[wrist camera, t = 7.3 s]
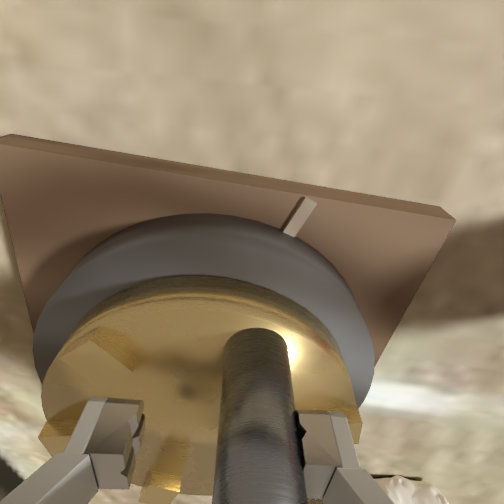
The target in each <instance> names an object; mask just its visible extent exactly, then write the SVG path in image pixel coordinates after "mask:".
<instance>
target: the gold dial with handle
mask: <svg viewBox="0 0 504 504" xmlns="http://www.w3.org/2000/svg"><path fill="white" fill-rule="evenodd" d="M92 396H93V397H110V398H121V399H135V400H143V402H144V409H143V412H142V413H143V414H144V415H145V431H144V436H143V441H142V444H141V448H140V449H139V450H138V451H137V452H136V453H135V461H136V466H135V469H134V473H133V476H132V480H131V483H132V484H135V485H138V486H142V489H141V493H140V497H139V501H138V502H142V503H147V504H170V503H171V502H172V501H173V499H174V498H175V497H176V496H177V494H178V493H179V494H187V495H213V498H212V504H308V502H307V494H306V487H305V479H304V473H303V467H302V459H301V451H300V440H299V433H298V427H297V419H296V410H297V409H299V410H322V411H334V412H343V413H344V414H345V415H346V417H347V421H348V425H349V428H350V432H351V435H352V439H353V443H354V444H358V443H359V438H360V433H361V428H362V421H361V417H360V414H359V411H358V408H356V400H355V394H354V391H353V388H352V384H351V381H350V378H349V375H348V371H347V368H346V365H345V361H344V358H343V355H342V353H341V350H340V348H339V345H338V343H337V341H336V340H335V338H334V337H333V335H332V333H331V332H330V331H329V330H328V328H327V327H326V326H325V325H324V324H323V323H322V322H321V320H320V319H318V318H317V317H316V316H315V315H314V314H312V313H311V312H310V311H309V310H308V309H306V308H305V307H303V306H301V305H300V304H298V303H297V302H295V301H293V300H292V299H290V298H288V297H286V296H284V295H282V294H279V293H277V292H275V291H273V290H270V289H267V288H264V287H261V286H258V285H255V284H252V283H248V282H243V281H238V280H234V279H228V278H219V277H209V276H182V277H173V278H164V279H158V280H154V281H149V282H145V283H141V284H138V285H135V286H132V287H129V288H127V289H124V290H121V291H119V292H117V293H115V294H113V295H111V296H109V297H108V298H106V299H104V300H102V301H101V302H100V303H98V304H97V305H96V306H94V307H93V308H91V309H90V310H89V311H88V312H87V313H86V314H85V315H84V316H83V317H82V318H81V319H80V320H79V322H78V323H77V325H76V326H75V328H74V329H73V331H72V332H71V334H70V335H69V337H68V339H67V340H66V342H65V343H64V345H63V347H62V348H61V350H60V351H59V353H58V354H57V356H56V358H55V359H54V361H53V362H52V364H51V366H50V367H49V369H48V371H47V373H46V376H45V379H44V381H43V386H42V394H41V398H42V407H43V411H44V414H45V417H46V420H47V422H46V423H45V425H44V427H43V429H42V431H41V432H40V434H39V436H38V438H39V440H40V441H41V442H42V444H43V445H44V447H45V448H46V449H47V451H48V452H49V453H50V455H51V456H52V457H53V456H54V455H55V454H57V453H63V452H64V449H65V447H66V445H67V443H68V441H69V439H70V437H71V435H72V433H73V431H74V429H75V427H76V424H77V422H78V420H79V418H80V416H81V414H82V412H83V410H84V408H85V406H86V404H87V402H88V401H89V399H90V398H91V397H92Z"/></svg>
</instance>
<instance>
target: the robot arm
mask: <svg viewBox="0 0 504 504" xmlns="http://www.w3.org/2000/svg"><path fill="white" fill-rule="evenodd" d="M143 409H144V402H143V400H135V399H121V398H110V397H93V396H92V397H91V398H90V399H89V401H88V402H87V404H86V406H85V408H84V410H83V412H82V414H81V416H80V418H79V420H78V422H77V424H76V427H75V429H74V431H73V433H72V435H71V437H70V439H69V441H68V443H67V445H66V447H65V449H64V452H63V453H57V454H55V455H54V456H53V457H52V458H51V459H49V460H48V461H47V462H46V463H45V464H44V465H42V466H41V467H40V468H39V469H38V470H37V471H35V472H34V473H33V474H32V475H31V476H30V477H28V478H27V479H26V480H25V481H24V482H23V483H21V484H20V485H19V486H18V487H17V488H16V489H15V490H13V491H12V492H11V493H10V494H9V495H7V496H6V497H5V498H4V499H3V500H1V501H0V504H88V502H89V501H90V500H91V499H92V498H93V497H94V495H95V494H96V493H97V492H98V489H129V487H130V483H131V480H132V476H133V473H134V469H135V466H136V461H135V453H136V452H137V451H138V450H139V449H140V448H141V444H142V441H143V436H144V431H145V415H144V414H143V413H142V412H143ZM296 419H297V427H298V433H299V440H300V451H301V459H302V467H303V473H304V479H305V487H306V494H307V498H311V499H323V500H322V502H323V504H394V503H393V501H392V500H391V499H390V498H389V497H388V495H387V494H386V493H385V492H384V491H383V489H382V488H381V487H380V486H379V485H378V483H377V482H376V481H375V480H374V479H373V477H372V476H371V475H370V474H369V473H368V471H367V470H366V469H361V468H360V465H359V461H358V457H357V454H356V450H355V446H354V443H353V439H352V435H351V432H350V428H349V425H348V421H347V417H346V415H345V414H344V413H343V412H334V411H322V410H299V409H297V410H296Z"/></svg>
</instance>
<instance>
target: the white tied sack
mask: <svg viewBox="0 0 504 504" xmlns="http://www.w3.org/2000/svg"><path fill="white" fill-rule="evenodd" d="M374 480H375V481H376V482H377V483H378V485H379V486H380V487H381V488H382V489H383V491H384V492H385V493H386V494H387V495H388V497H389V498H390V499H391V500H392V501H393V503H394V504H449V503H448V501H447V500H446V498H445V497H444V496H443V495H442V494H441V492H440V491H439V490H438V489H437V488H436V487H435V486H433V485H432V484H430V483H427V482H422V481H415V480H409V479H407V478H404V477H402V476H400V475H395V476H393V477H391V478H379V479H374Z"/></svg>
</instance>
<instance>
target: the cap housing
mask: <svg viewBox="0 0 504 504" xmlns="http://www.w3.org/2000/svg"><path fill="white" fill-rule="evenodd" d="M0 194H1V198H2V202H3V206H4V211H5V215H6V219H7V223H8V227H9V232H10V236H11V240H12V244H13V248H14V253H15V257H16V261H17V265H18V269H19V273H20V278H21V282H22V286H23V290H24V294H25V299H26V303H27V307H28V311H29V315H30V320H31V324H32V328H33V332H34V339H33V354H34V361H35V366H36V369H37V372H38V375H39V378H40V380H41V382H42V384H43V381H44V379H45V376H46V373H47V371H48V369H49V367H50V366H51V364H52V362H53V361H54V359H55V358H56V356H57V354H58V353H59V351H60V350H61V348H62V347H63V345H64V343H65V342H66V340H67V339H68V337H69V335H70V334H71V332H72V331H73V329H74V328H75V326H76V325H77V323H78V322H79V320H80V319H81V318H82V317H83V316H84V315H85V314H86V313H87V312H88V311H89V310H90V309H91V308H93V307H94V306H96V305H97V304H98V303H100V302H101V301H102V300H104V299H106V298H108V297H109V296H111V295H113V294H115V293H117V292H119V291H121V290H124V289H127V288H129V287H132V286H135V285H138V284H141V283H145V282H149V281H154V280H158V279H164V278H173V277H182V276H209V277H219V278H228V279H234V280H238V281H243V282H248V283H252V284H255V285H258V286H261V287H264V288H267V289H270V290H273V291H275V292H277V293H279V294H282V295H284V296H286V297H288V298H290V299H292V300H293V301H295V302H297V303H298V304H300V305H301V306H303V307H305V308H306V309H308V310H309V311H310V312H311V313H312V314H314V315H315V316H316V317H317V318H318V319H320V320H321V322H322V323H323V324H324V325H325V326H326V327H327V328H328V330H329V331H330V332H331V333H332V335H333V337H334V338H335V340H336V341H337V343H338V345H339V348H340V350H341V353H342V355H343V358H344V361H345V365H346V368H347V371H348V375H349V378H350V381H351V384H352V388H353V391H354V394H355V400H356V408H359V407H360V406H361V404H362V403H363V401H364V399H365V397H366V395H367V393H368V391H369V389H370V386H371V382H372V379H373V375H374V367H375V365H376V363H377V361H378V360H379V358H380V356H381V354H382V353H383V351H384V349H385V347H386V345H387V344H388V342H389V340H390V338H391V336H392V335H393V333H394V331H395V329H396V327H397V326H398V324H399V322H400V320H401V318H402V317H403V315H404V313H405V311H406V309H407V308H408V306H409V304H410V302H411V301H412V299H413V297H414V295H415V293H416V292H417V290H418V288H419V286H420V284H421V283H422V281H423V279H424V277H425V275H426V274H427V272H428V270H429V268H430V266H431V265H432V263H433V261H434V259H435V257H436V256H437V254H438V252H439V250H440V248H441V247H442V245H443V243H444V241H445V240H446V238H447V236H448V234H449V232H450V231H451V229H452V227H453V225H454V223H455V222H456V220H455V219H454V218H453V217H452V216H451V215H449V214H448V213H447V212H446V211H444V210H443V209H442V208H441V207H438V206H433V205H427V204H421V203H415V202H409V201H403V200H397V199H391V198H386V197H380V196H374V195H368V194H362V193H356V192H350V191H344V190H338V189H333V188H327V187H321V186H315V185H309V184H303V183H297V182H291V181H286V180H280V179H274V178H268V177H262V176H256V175H250V174H244V173H238V172H233V171H227V170H221V169H215V168H209V167H203V166H197V165H191V164H186V163H180V162H174V161H168V160H162V159H156V158H150V157H144V156H138V155H133V154H127V153H121V152H115V151H109V150H103V149H97V148H91V147H86V146H80V145H74V144H68V143H62V142H56V141H50V140H44V139H38V138H33V137H27V136H21V135H15V134H10V135H7V136H4V137H2V138H0Z"/></svg>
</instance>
